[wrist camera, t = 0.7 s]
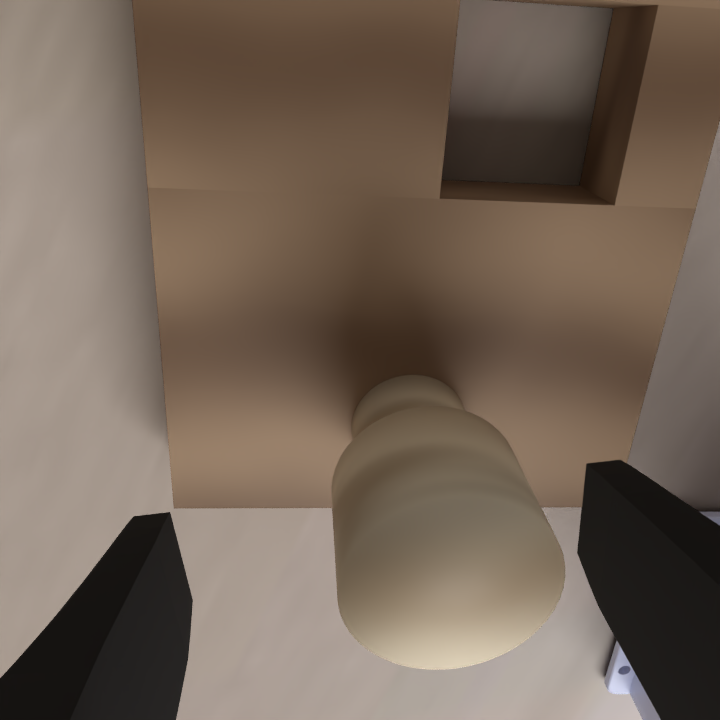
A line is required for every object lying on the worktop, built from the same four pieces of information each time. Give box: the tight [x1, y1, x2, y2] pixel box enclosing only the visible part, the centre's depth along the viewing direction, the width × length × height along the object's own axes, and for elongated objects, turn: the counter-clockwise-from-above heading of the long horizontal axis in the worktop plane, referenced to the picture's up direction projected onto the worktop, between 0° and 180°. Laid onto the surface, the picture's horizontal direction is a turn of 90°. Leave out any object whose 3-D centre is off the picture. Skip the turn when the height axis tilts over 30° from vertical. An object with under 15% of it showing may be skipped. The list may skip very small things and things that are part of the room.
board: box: [132, 0, 720, 508], centre depth 16 cm, size 20×14×6 cm
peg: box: [331, 375, 565, 670], centre depth 17 cm, size 5×5×6 cm
